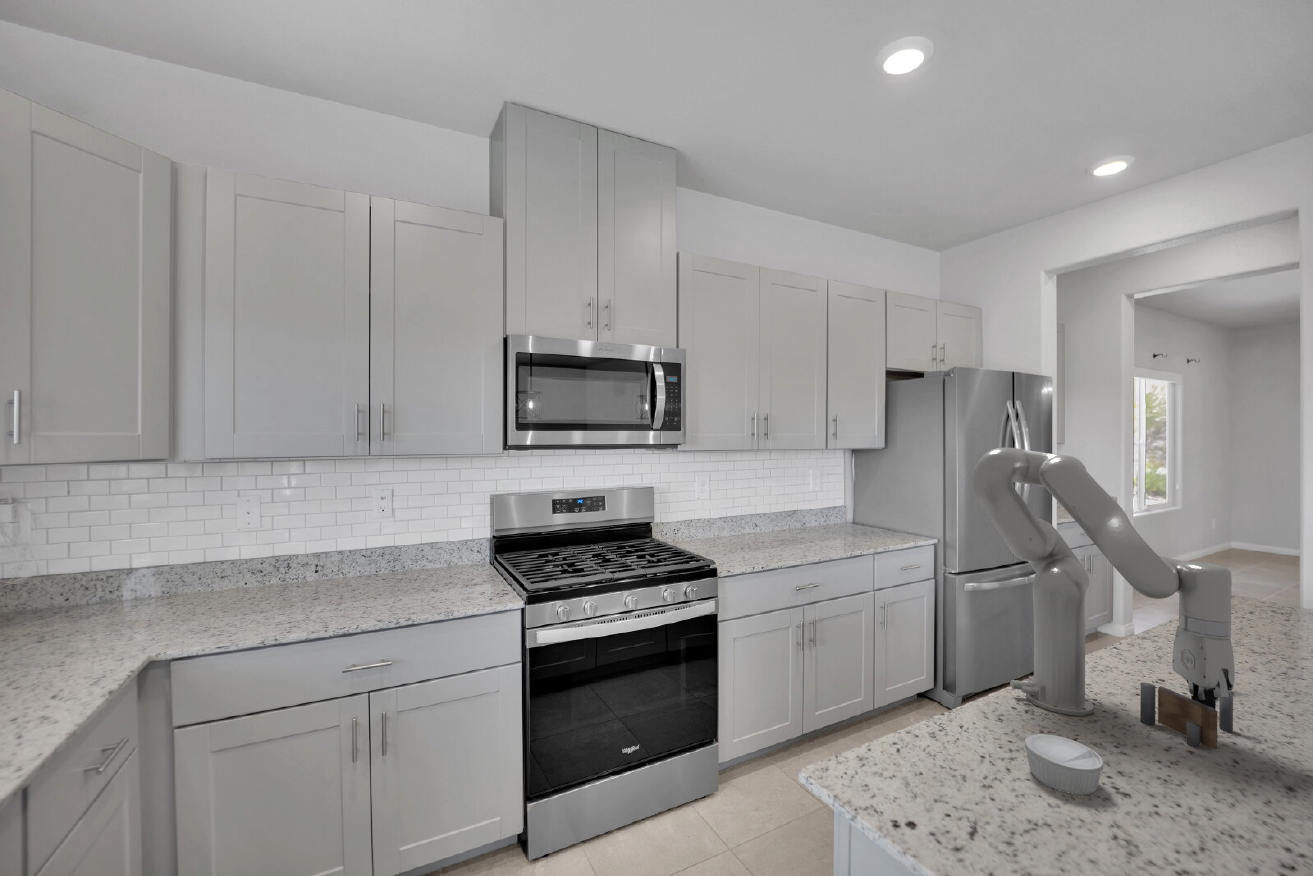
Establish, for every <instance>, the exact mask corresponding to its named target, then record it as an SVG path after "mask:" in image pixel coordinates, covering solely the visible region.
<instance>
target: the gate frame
mask: <svg viewBox="0 0 1313 876" xmlns="http://www.w3.org/2000/svg"><path fill="white" fill-rule="evenodd" d="M1156 689H1157V688H1156V685H1154V684H1152V683H1149V682H1145V681H1144V682H1140V699H1139V700H1140V701H1139V703H1140V710H1139V711H1140V713H1139V714H1140V715H1139V716H1140V719H1139V720H1140V723H1142V724H1145V725H1147V726H1156ZM1187 744H1188V745H1187ZM1186 745H1187V746H1190V747H1192V746H1193V747H1192V748H1195V747H1197V748H1196V749H1200V748H1201V745H1202V744H1201V726H1200V725H1198V724H1196V723H1192V722H1187V736H1186Z"/></svg>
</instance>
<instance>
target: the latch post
mask: <svg viewBox="0 0 1313 876" xmlns="http://www.w3.org/2000/svg"><path fill="white" fill-rule="evenodd" d="M1228 695H1229V698H1228V699H1224V698H1218V701H1219V704H1218V705H1219V709H1218V711H1219V713H1218V714H1219V715H1218V716H1219V723H1218V725H1219V726H1218V727H1219V728H1220V729H1221V730H1220V729H1219V728H1218V729H1219V730H1220V731H1222V730H1223V732H1225V731H1226V733H1233V732H1234V692H1233V691H1232V690H1228Z"/></svg>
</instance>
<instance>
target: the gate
mask: <svg viewBox="0 0 1313 876" xmlns="http://www.w3.org/2000/svg"><path fill="white" fill-rule="evenodd" d="M1187 722H1192V723H1196V724H1198V725H1200V726H1201V745H1203V746H1204V747H1206V748H1209V749H1217V748H1218V711H1217V710H1215V709H1214V708H1212V707H1209V706H1207V705H1205V704H1202V703H1200V702H1198V701H1195V700H1193V699H1191V698H1190V697H1188V696H1186V695H1183V694H1181V693H1180V692H1179V693H1178V692H1177V691H1175V690H1172V689H1169V688H1166V687H1164V686H1162V685H1161V686H1159V687H1158V688H1157V723H1159V724H1161V725H1163V726H1164V727H1167V728H1168V729H1170V730H1172V731H1174V732H1177V733H1179V734H1181V735H1183V736H1185V737H1187Z"/></svg>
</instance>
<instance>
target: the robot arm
mask: <svg viewBox="0 0 1313 876" xmlns="http://www.w3.org/2000/svg"><path fill="white" fill-rule="evenodd" d="M971 481H972V482H971V485H972V490H973V492H974V493H973V494H974V495H975V498H976V499H977V501H978V504H979V505H980V506H981V508H982V509H983V511H984V512H985V514H986V515H987V517H988V518H989V520H990V521H991V523H992V525H993V526H994V528H995V529H996V530H997V532H998V533H999V535H1000V536H1001V538H1002V539H1003V541H1004V542H1005V544H1006V546H1007V548H1008V549H1009V550H1010V553H1012V554H1013V555H1014V556H1015V557H1016V558H1017V559H1019V560H1021V561H1024V562H1028V563H1029V565H1030V566H1031V568H1032V569H1033V570H1034V572H1035V575H1034V578H1033V582H1032V600H1033V601H1032V602H1033V604H1032V605H1033V631H1034V632H1033V676H1032V675H1031V676H1028V679H1025V680H1024V681H1023V680H1022V681H1021V680H1015V679H1011V680H1010V681H1009V684H1010V685H1009V686H1010V688H1011V687H1012V688H1011V689H1012V690H1020V692H1021V693H1022V694H1025V697H1026V698H1027V700H1028V701H1029V702H1031V703H1032V704H1034V705H1035V706H1037V707H1040V708H1042V709H1045V710H1048V711H1051V712H1054V713H1058V714H1061V715H1069V716H1079V717H1080V716H1088V715H1091V714H1092V713H1094V709H1095V708H1094V704H1093V702H1092V701H1090V700H1089V699H1088V698H1086V606H1085V605H1086V593H1087V590H1088V588H1089V584H1090V578H1089V574H1088V572H1087V570H1086V568H1085V566H1084V565H1083V564H1082V562H1081V561H1080V560H1079V558H1078V557H1077V556H1076V554H1075V553H1074V552H1073V551H1072V549H1071V547H1070V546H1069V545H1068V543H1067V542H1066V541H1065V539H1064V538H1063V536H1061V534H1060V533H1059V531H1058V530H1057V529H1056V528H1055V526H1053V525H1052V524H1051V523H1049V522H1048V521H1046V520H1045V519H1041V518H1039V517H1038V518H1037V517H1036V516H1035V515H1036V514H1034V512H1033V511H1032V510H1031V508H1030V507H1029V506H1028V504H1027V503H1026V501H1025V500H1024V498H1023V497H1022V496H1021V495H1020V493H1018V492H1017V489H1016V487H1015V485H1014V483H1018V484H1024V485H1030V486H1036V487H1041V488H1045V489H1046V490H1047V491H1048V492H1049V494H1050V495H1052V496H1053V498H1054V499H1055V500H1056V502H1058V503H1059V504H1060V506H1061V507H1062V508H1063V509H1064V510H1065V511H1066V512H1067V513H1068V514H1069V515H1070V517H1071V518H1072V519H1073V520H1074V521H1075V523H1077V524H1078V525H1079V527H1080V528H1081V529H1082V530H1083V531H1084V533H1085V534H1086V535H1087V537H1088V538H1089V539H1090V540H1091V541H1092V542H1093V543H1094V545H1095V546H1096V547H1097V548H1098V550H1099V551H1100V552H1101V553H1102V555H1104V557H1105V558H1106V560H1107V561H1109V563H1110V564H1111V565H1112V566H1113V567H1114V569H1115V570H1116V571H1117V572H1118V573H1119V574H1120V575H1121V577H1123V578H1124V581H1126V582H1127V583H1128V584H1129V585H1130V586H1131V587H1132V588H1133V589H1134V590H1135V591H1136V592H1138V593H1139V594H1141V595H1142V596H1144V597H1147V598H1150V599H1155V600H1162V599H1168V598H1169V597H1171V596H1173V595H1174V594H1175V593H1178V594H1179V596H1178V600H1179V601H1178V625H1177V627H1176V630H1175V635H1174V639H1173V644H1172V645H1173V647H1172V656H1171V657H1172V659H1171V661H1172V662H1171V665H1172V666H1171V667H1172V668H1171V669H1172V670H1173V671H1174V673H1176V674H1177V675H1178V676H1181V678H1182V679H1183V680H1185V681H1186V683H1187V684H1188V692H1189V694H1190V697H1191V698H1190V699H1193V700H1195V701H1198V702H1200V703H1202V704H1205V705H1207V706H1209V707H1212V708H1214V709H1215V710H1216V707H1217V706H1216V704H1217V702H1218V701H1219V698H1224V699H1228V698H1229V695H1228V690H1229V691H1232V690H1233V689H1234V687H1235V680H1236V679H1235V678H1236V675H1235V674H1236V672H1235V658H1234V651H1233V650H1234V649H1233V645H1232V640H1231V638H1232V583H1233V581H1232V579H1233V578H1232V572H1231V570H1230V569H1229V568H1228V567H1226V566H1223V565H1220V564H1215V563H1212V562H1211V563H1210V562H1203V561H1185V560H1179V559H1175V558H1170V557H1165V556H1161V555H1158V554H1157V552H1155V550H1153V548H1151V547H1150V545H1149V544H1148V543H1147V541H1145V540H1144V538H1143V537H1142V536H1141V535H1140V534H1139V532H1138V531H1137V530H1136V528H1135V527H1134V526H1133V524H1132V523H1131V521H1130V519H1129V517H1128V515H1127V513H1126V512H1125V510H1124V509H1123V508H1122V507H1121V506H1120V504H1119V503H1118V502H1117V501H1116V500H1115V499H1114V498H1113V497H1112V496H1111V495H1110V494H1109V493H1108V492H1107V491H1106V490H1105V489H1104V488H1103V487H1102V486H1101V484H1099V483H1098V482H1097V481H1096V480H1095V478H1094V477H1093V476H1092V475H1091V474H1090V473H1089V472H1088V471H1087V468H1086V466H1085V464H1084V463H1083V462H1082V461H1081V460H1080V459H1078V458H1076V457H1074V456H1072V455H1065V454H1056V453H1048V452H1042V451H1036V450H1030V449H1024V448H1023V449H1022V448H1017V447H997V448H993V449H990V450H989V451H988V452H986V453H984V454H983V455H982V456H981V457H980V459H979V460H978V462H977V463H976V465H975V467H974V469H973V472H972V478H971ZM1025 681H1028V682H1025ZM1216 711H1217V710H1216Z"/></svg>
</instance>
